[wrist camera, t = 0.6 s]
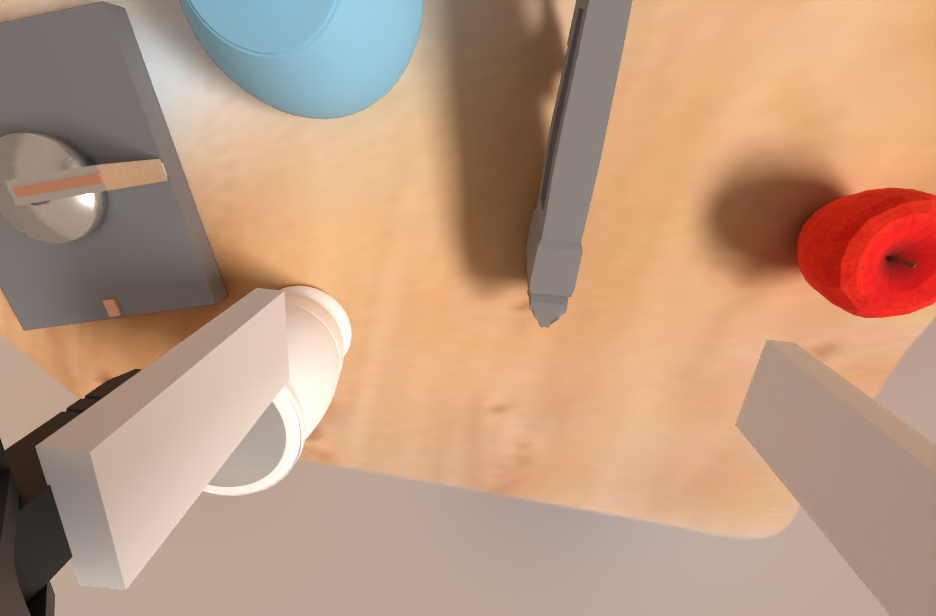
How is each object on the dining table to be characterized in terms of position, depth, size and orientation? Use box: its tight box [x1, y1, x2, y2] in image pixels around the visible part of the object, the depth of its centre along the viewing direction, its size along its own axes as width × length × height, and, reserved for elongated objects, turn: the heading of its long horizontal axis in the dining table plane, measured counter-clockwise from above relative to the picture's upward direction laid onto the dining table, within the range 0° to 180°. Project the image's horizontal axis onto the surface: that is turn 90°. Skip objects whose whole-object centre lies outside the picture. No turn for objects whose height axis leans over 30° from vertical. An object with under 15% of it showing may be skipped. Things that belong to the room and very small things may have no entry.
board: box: [0, 2, 228, 331], centre depth 37 cm, size 22×18×2 cm
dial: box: [0, 133, 168, 243], centre depth 33 cm, size 13×8×6 cm, turn 99°
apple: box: [798, 188, 936, 318], centre depth 33 cm, size 9×9×8 cm
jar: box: [203, 286, 351, 495], centre depth 35 cm, size 11×10×15 cm
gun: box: [526, 0, 632, 327], centre depth 32 cm, size 3×25×15 cm, turn 175°
